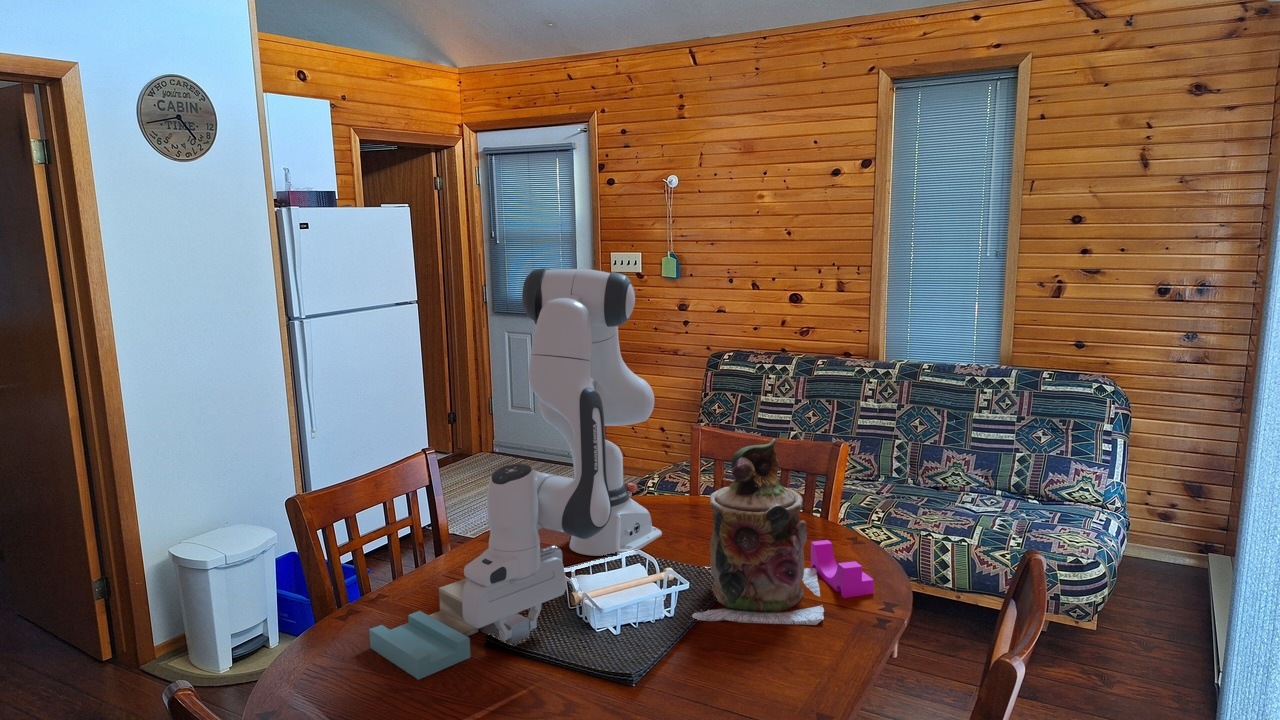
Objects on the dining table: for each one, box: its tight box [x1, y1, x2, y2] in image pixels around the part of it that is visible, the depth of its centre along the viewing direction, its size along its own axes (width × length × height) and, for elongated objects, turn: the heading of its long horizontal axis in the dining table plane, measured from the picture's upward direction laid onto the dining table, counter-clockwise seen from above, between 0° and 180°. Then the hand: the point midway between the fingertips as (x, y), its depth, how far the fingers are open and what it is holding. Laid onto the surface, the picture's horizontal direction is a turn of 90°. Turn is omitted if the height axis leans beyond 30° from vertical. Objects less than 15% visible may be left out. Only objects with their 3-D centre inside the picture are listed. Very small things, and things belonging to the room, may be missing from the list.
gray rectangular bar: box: [478, 613, 531, 643], centre depth 153 cm, size 4×22×4 cm, turn 45°
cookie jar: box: [691, 438, 825, 626], centre depth 160 cm, size 25×25×32 cm
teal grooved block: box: [368, 610, 471, 681], centre depth 143 cm, size 10×16×4 cm, turn 46°
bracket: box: [428, 577, 479, 637], centre depth 156 cm, size 12×11×6 cm
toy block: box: [810, 539, 875, 599], centre depth 166 cm, size 15×6×8 cm, turn 13°
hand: (518, 633), depth 146 cm, fingers closed on gray rectangular bar, 4 cm apart
